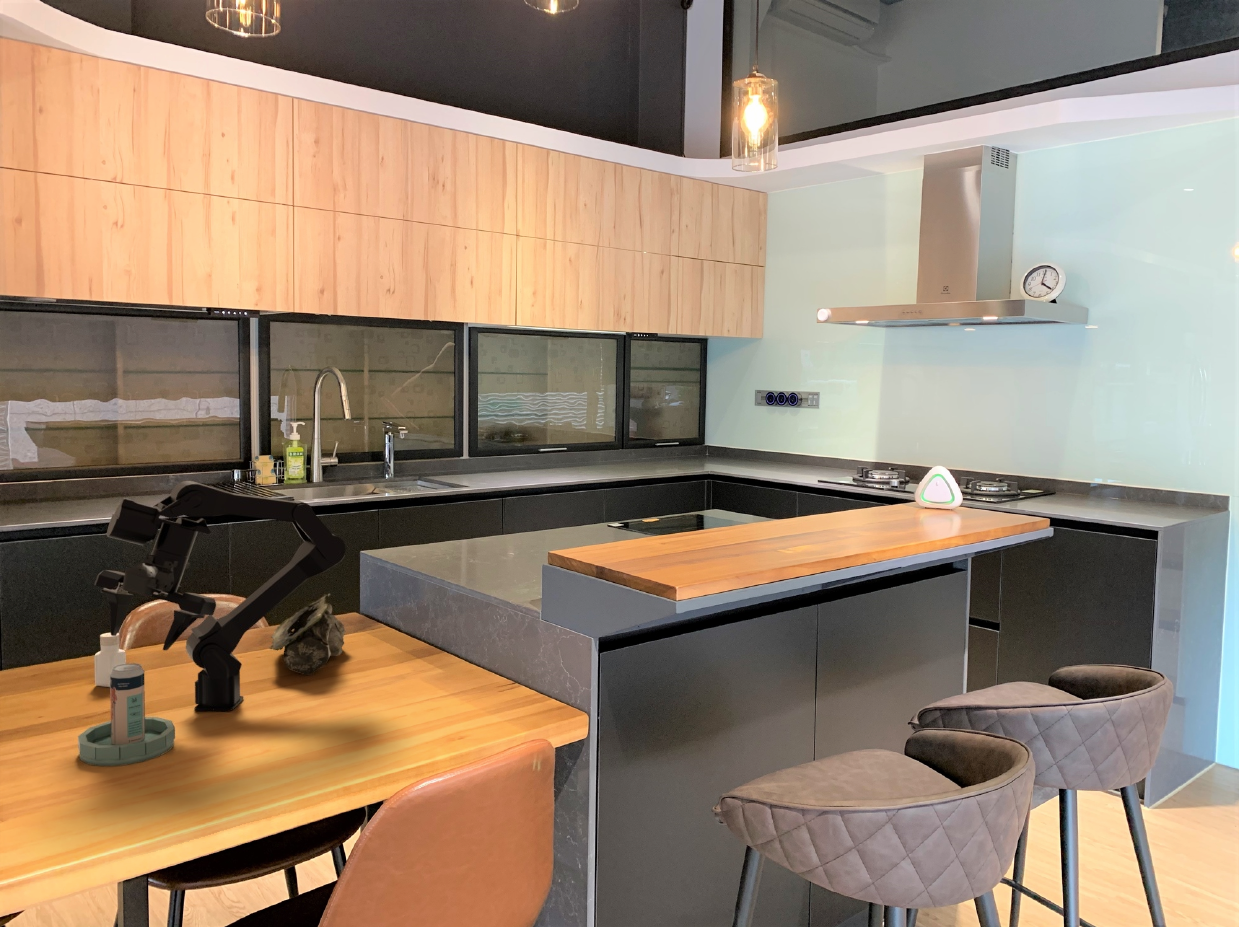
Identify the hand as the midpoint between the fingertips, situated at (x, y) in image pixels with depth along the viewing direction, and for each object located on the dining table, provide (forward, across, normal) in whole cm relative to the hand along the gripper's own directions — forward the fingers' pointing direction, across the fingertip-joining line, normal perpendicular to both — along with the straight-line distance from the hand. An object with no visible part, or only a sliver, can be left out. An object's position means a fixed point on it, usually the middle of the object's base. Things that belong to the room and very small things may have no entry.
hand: (139, 642), depth 156 cm
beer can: (+14, +8, -8) cm, 18 cm away
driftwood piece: (0, +17, +37) cm, 41 cm away
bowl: (+14, +8, -8) cm, 19 cm away
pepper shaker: (+12, -13, +21) cm, 27 cm away
